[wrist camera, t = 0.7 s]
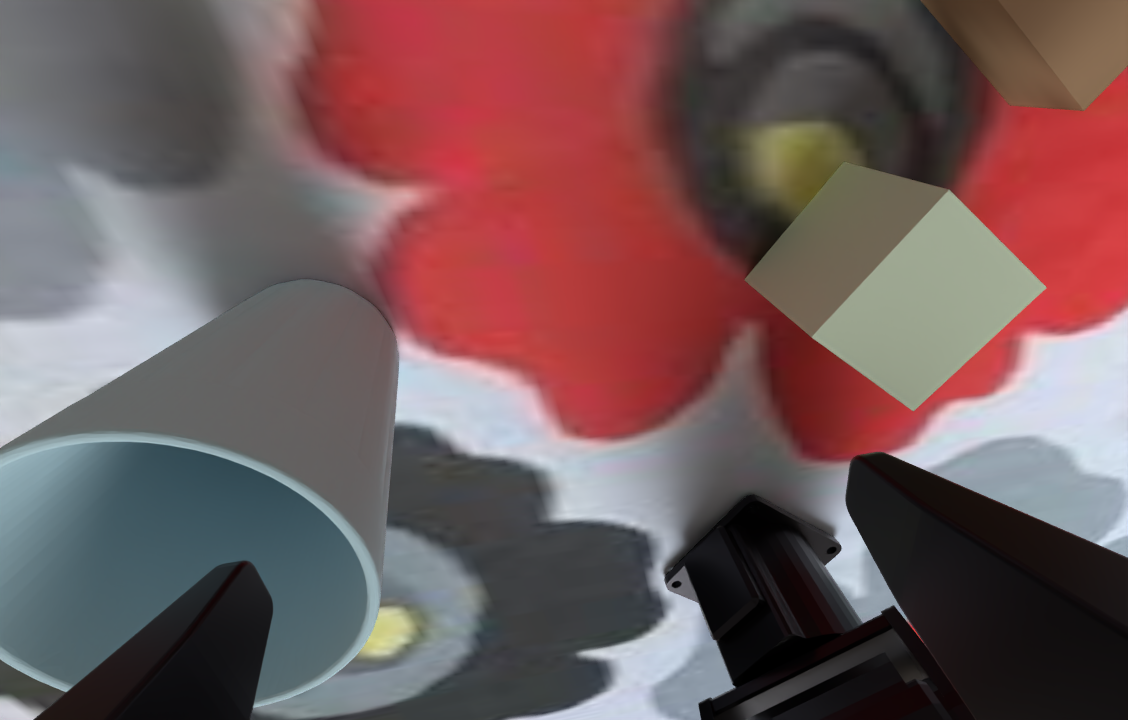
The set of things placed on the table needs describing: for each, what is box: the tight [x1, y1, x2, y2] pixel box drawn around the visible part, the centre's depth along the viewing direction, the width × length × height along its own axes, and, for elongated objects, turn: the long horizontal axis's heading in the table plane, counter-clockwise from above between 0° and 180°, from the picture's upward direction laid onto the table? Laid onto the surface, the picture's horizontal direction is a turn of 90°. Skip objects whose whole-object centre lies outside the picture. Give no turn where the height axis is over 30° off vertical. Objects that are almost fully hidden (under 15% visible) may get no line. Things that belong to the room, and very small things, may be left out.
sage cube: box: [744, 162, 1047, 411], centre depth 18 cm, size 5×5×5 cm
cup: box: [0, 279, 399, 708], centre depth 15 cm, size 8×8×10 cm
